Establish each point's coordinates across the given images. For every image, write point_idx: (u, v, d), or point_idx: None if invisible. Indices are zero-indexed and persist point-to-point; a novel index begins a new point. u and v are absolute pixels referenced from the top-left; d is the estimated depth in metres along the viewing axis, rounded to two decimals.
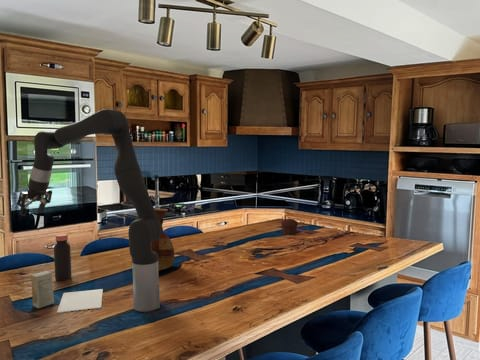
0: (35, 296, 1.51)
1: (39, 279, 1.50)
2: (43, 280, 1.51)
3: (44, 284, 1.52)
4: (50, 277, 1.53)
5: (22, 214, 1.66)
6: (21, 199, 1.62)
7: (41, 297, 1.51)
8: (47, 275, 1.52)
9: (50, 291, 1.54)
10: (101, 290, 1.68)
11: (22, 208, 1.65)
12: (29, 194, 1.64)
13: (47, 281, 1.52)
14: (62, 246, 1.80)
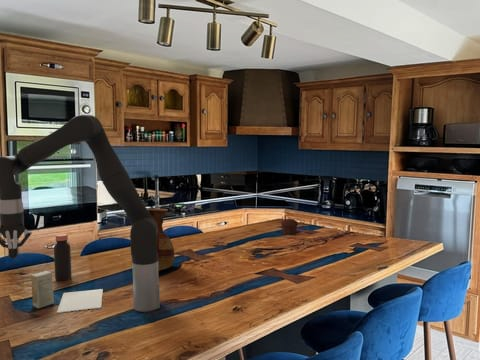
0: (35, 296, 1.51)
1: (39, 279, 1.50)
2: (43, 280, 1.51)
3: (44, 284, 1.52)
4: (50, 277, 1.53)
5: (9, 256, 1.48)
6: None
7: (41, 297, 1.51)
8: (47, 275, 1.52)
9: (50, 291, 1.54)
10: (101, 290, 1.68)
11: None
12: (0, 231, 1.47)
13: (47, 281, 1.52)
14: (62, 246, 1.80)
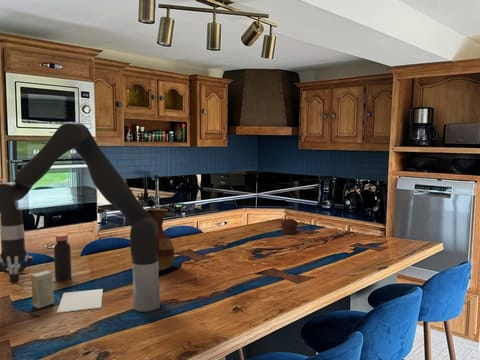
0: (35, 296, 1.51)
1: (39, 279, 1.50)
2: (43, 280, 1.51)
3: (44, 284, 1.52)
4: (50, 277, 1.53)
5: (10, 281, 1.49)
6: None
7: (41, 297, 1.51)
8: (47, 275, 1.52)
9: (50, 291, 1.53)
10: (101, 290, 1.68)
11: (10, 274, 1.49)
12: (1, 257, 1.48)
13: (47, 281, 1.52)
14: (62, 246, 1.80)
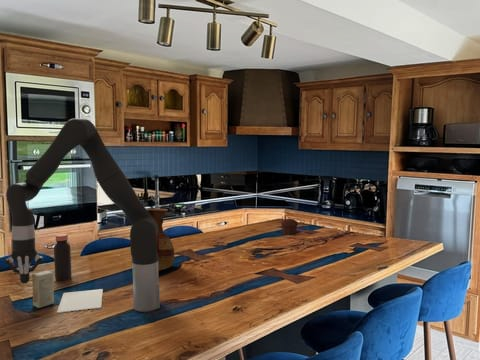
0: (35, 295, 1.51)
1: (40, 278, 1.50)
2: (44, 280, 1.51)
3: (45, 284, 1.52)
4: (51, 277, 1.53)
5: (21, 281, 1.50)
6: None
7: (41, 297, 1.51)
8: (48, 275, 1.52)
9: (50, 291, 1.54)
10: (101, 290, 1.68)
11: (20, 274, 1.50)
12: (12, 257, 1.49)
13: (48, 281, 1.52)
14: (62, 246, 1.80)
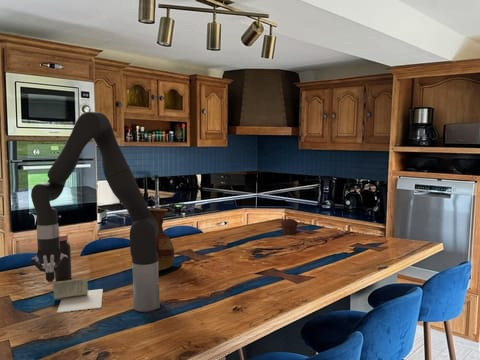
0: None
1: (83, 281, 1.61)
2: (81, 285, 1.60)
3: (77, 286, 1.59)
4: (82, 292, 1.59)
5: None
6: None
7: (64, 284, 1.58)
8: (85, 289, 1.60)
9: (67, 293, 1.57)
10: (101, 290, 1.68)
11: None
12: (37, 256, 1.51)
13: (79, 289, 1.59)
14: (62, 246, 1.80)
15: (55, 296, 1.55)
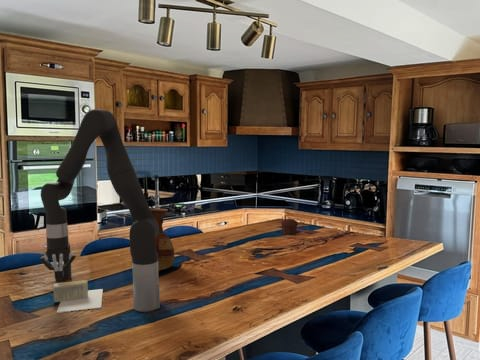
0: (66, 284, 1.57)
1: (84, 286, 1.59)
2: (82, 290, 1.58)
3: (77, 291, 1.58)
4: (83, 296, 1.59)
5: (55, 278, 1.54)
6: None
7: (64, 289, 1.56)
8: (86, 293, 1.59)
9: (68, 297, 1.57)
10: (101, 290, 1.68)
11: None
12: (46, 255, 1.52)
13: (79, 294, 1.58)
14: None
15: (55, 300, 1.55)
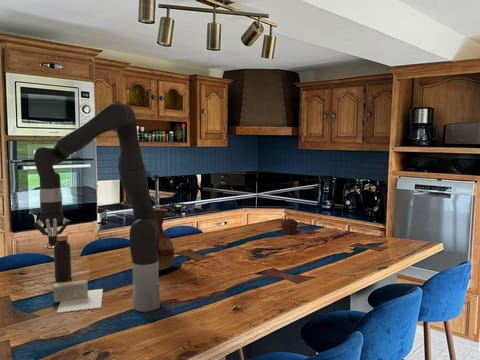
0: (65, 284, 1.57)
1: (84, 285, 1.59)
2: (81, 290, 1.58)
3: (77, 291, 1.58)
4: (83, 296, 1.59)
5: (49, 244, 1.53)
6: None
7: (64, 289, 1.56)
8: (86, 293, 1.59)
9: (68, 297, 1.57)
10: (101, 290, 1.68)
11: None
12: (40, 220, 1.51)
13: (79, 293, 1.58)
14: (62, 246, 1.80)
15: (55, 300, 1.55)
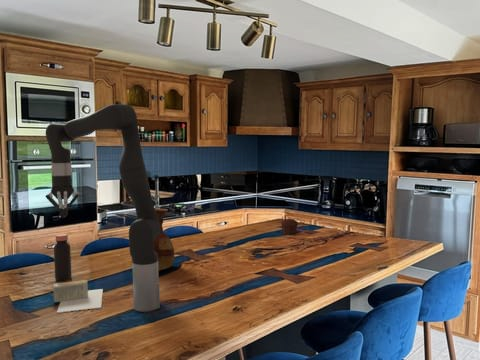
0: (65, 284, 1.57)
1: (84, 285, 1.59)
2: (81, 290, 1.58)
3: (77, 291, 1.58)
4: (83, 296, 1.59)
5: (60, 215, 1.64)
6: None
7: (64, 289, 1.56)
8: (86, 293, 1.59)
9: (68, 297, 1.57)
10: (101, 290, 1.68)
11: (59, 209, 1.64)
12: (52, 192, 1.62)
13: (79, 293, 1.58)
14: (62, 246, 1.80)
15: (55, 300, 1.55)
